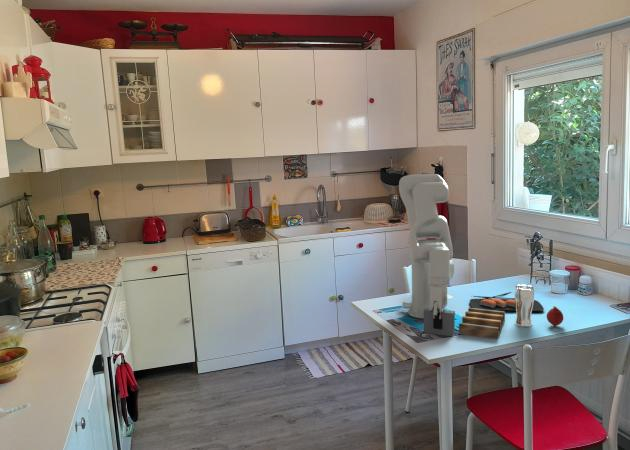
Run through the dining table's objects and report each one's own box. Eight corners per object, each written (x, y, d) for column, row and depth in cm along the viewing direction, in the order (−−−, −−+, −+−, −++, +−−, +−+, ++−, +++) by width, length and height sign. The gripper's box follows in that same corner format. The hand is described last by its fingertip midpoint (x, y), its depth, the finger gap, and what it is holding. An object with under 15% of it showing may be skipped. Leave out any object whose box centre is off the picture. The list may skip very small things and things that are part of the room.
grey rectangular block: (423, 332, 198) (423, 310, 196) (425, 329, 200) (425, 307, 199) (452, 336, 193) (453, 313, 191) (454, 333, 196) (454, 310, 194)
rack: (458, 333, 195) (458, 322, 195) (468, 316, 213) (468, 306, 212) (497, 339, 189) (498, 327, 188) (504, 321, 207) (505, 310, 206)
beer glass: (517, 319, 207) (518, 283, 205) (535, 323, 203) (536, 286, 201) (511, 325, 202) (512, 288, 200) (529, 328, 198) (531, 290, 195)
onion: (558, 323, 202) (559, 303, 201) (565, 328, 197) (566, 308, 195) (543, 323, 202) (544, 304, 201) (550, 329, 197) (551, 309, 195)
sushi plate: (472, 313, 219) (472, 304, 218) (464, 292, 248) (464, 284, 247) (545, 314, 214) (546, 306, 213) (529, 293, 243) (529, 285, 242)
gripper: (434, 273, 202) (434, 318, 205) (423, 284, 188) (423, 333, 191) (454, 275, 199) (453, 321, 202) (444, 286, 184) (444, 336, 187)
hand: (438, 326), depth 196 cm, fingers closed on grey rectangular block, 3 cm apart
